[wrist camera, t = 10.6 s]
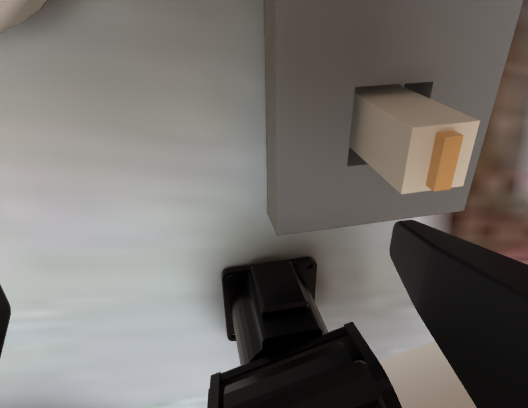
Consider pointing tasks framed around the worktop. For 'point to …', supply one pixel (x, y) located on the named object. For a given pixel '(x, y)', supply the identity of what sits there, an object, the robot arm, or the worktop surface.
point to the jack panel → (369, 74)
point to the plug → (411, 138)
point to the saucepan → (17, 11)
